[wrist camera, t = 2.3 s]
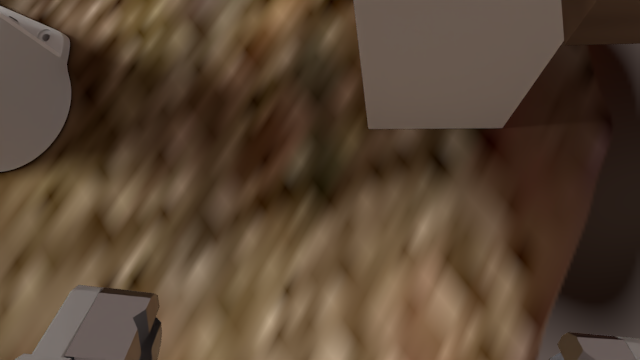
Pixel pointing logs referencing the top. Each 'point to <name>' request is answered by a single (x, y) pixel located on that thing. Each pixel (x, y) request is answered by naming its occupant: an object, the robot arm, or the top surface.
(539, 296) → the top surface
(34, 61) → the robot arm
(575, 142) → the top surface
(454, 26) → the off-white pedestal
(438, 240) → the top surface
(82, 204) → the top surface
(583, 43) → the walnut bar
